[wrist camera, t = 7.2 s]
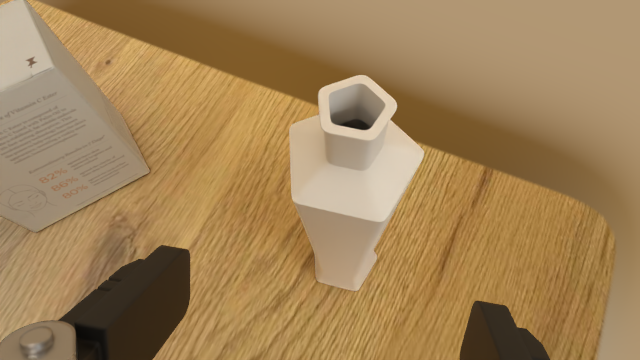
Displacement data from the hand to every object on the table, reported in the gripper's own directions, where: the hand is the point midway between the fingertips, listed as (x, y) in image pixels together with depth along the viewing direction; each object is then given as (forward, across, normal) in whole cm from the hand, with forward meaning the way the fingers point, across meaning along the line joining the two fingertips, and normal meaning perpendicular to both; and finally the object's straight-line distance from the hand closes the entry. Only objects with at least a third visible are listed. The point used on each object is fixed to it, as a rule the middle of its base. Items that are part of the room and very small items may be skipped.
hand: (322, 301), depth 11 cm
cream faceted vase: (+12, 0, +6) cm, 13 cm away
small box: (+14, +18, +3) cm, 23 cm away
